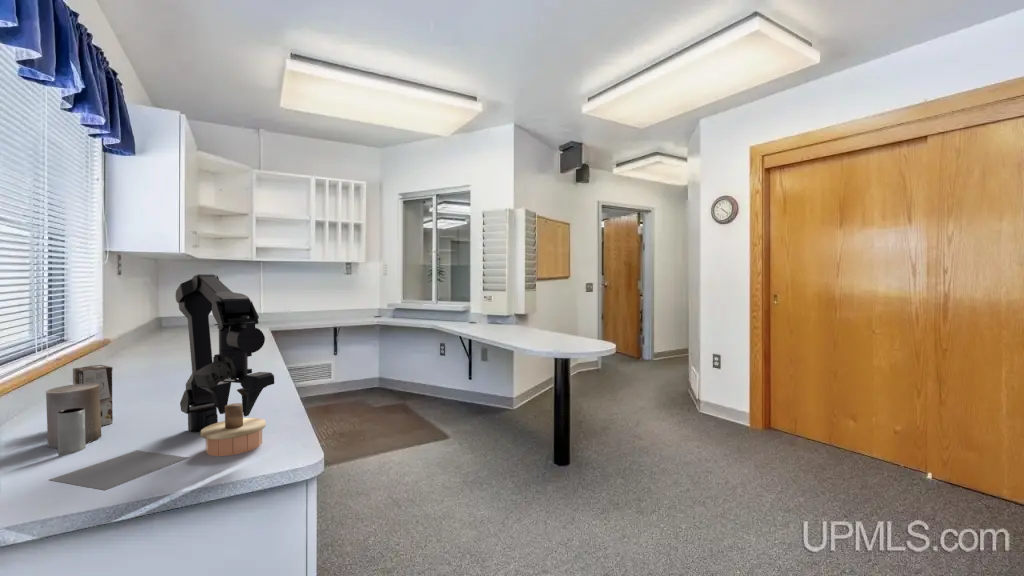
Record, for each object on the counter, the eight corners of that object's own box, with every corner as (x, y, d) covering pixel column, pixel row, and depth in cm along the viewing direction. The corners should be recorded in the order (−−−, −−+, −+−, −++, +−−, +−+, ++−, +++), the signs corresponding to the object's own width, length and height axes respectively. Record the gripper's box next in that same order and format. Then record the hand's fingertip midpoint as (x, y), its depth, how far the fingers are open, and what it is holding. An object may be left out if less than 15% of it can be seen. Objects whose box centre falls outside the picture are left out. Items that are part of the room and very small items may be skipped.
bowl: (194, 457, 101) (194, 435, 101) (237, 440, 112) (236, 420, 112) (232, 462, 98) (232, 439, 98) (272, 444, 109) (272, 424, 109)
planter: (54, 459, 100) (53, 414, 100) (63, 452, 104) (62, 409, 104) (81, 455, 102) (80, 411, 102) (88, 449, 106) (87, 406, 106)
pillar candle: (93, 432, 119) (91, 376, 118) (107, 438, 114) (105, 380, 113) (41, 444, 110) (39, 384, 110) (54, 451, 105) (52, 388, 105)
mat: (48, 484, 88) (48, 479, 88) (137, 454, 103) (137, 450, 103) (105, 495, 83) (105, 490, 83) (189, 462, 98) (188, 457, 98)
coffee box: (114, 423, 126) (113, 366, 126) (83, 429, 121) (82, 370, 121) (102, 418, 131) (101, 363, 131) (73, 424, 126) (71, 367, 125)
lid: (186, 436, 100) (186, 410, 100) (236, 419, 113) (236, 396, 113) (231, 441, 97) (230, 415, 97) (278, 423, 109) (277, 400, 109)
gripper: (169, 352, 100) (170, 422, 100) (234, 356, 94) (235, 429, 95) (215, 345, 110) (215, 408, 110) (275, 348, 105) (276, 414, 105)
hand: (234, 414), depth 105 cm, fingers open, 7 cm apart
